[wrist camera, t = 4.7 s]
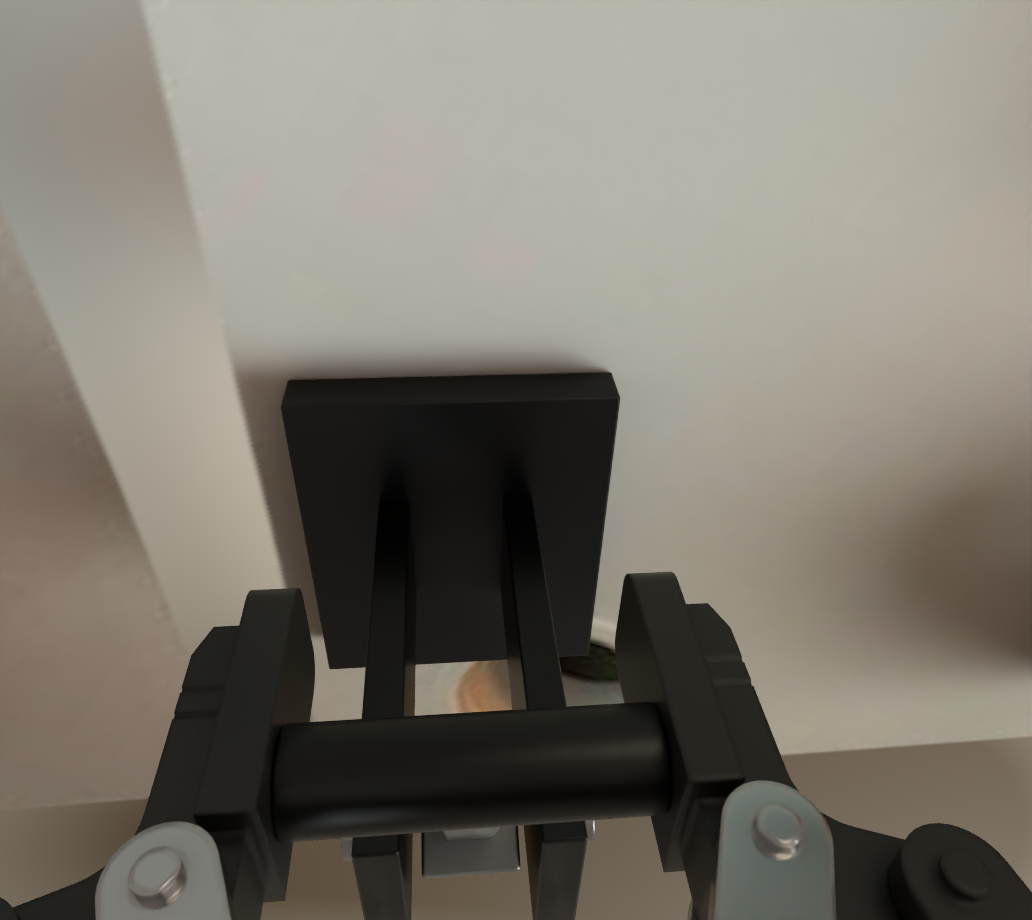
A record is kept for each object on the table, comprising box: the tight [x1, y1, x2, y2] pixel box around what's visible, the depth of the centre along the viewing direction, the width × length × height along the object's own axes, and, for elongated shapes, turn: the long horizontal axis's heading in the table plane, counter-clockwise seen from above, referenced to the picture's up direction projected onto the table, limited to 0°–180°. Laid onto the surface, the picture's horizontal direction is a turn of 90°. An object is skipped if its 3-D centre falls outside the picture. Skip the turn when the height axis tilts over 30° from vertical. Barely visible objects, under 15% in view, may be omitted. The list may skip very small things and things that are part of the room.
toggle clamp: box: [281, 372, 620, 920], centre depth 23 cm, size 12×10×13 cm
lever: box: [271, 702, 672, 878], centre depth 15 cm, size 12×5×2 cm, turn 179°
